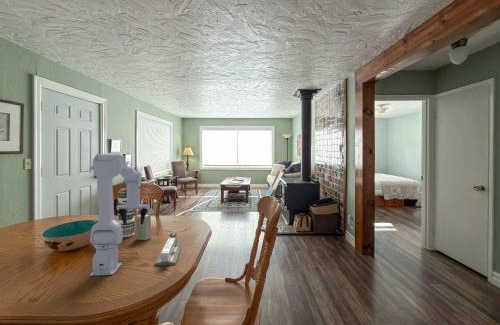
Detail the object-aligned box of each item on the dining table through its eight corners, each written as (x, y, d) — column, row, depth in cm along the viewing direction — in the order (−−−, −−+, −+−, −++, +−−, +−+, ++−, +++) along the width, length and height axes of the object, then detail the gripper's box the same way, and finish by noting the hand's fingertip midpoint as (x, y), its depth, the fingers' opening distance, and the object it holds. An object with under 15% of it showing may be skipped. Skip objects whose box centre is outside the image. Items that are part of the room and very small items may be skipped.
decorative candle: (138, 232, 148) (138, 187, 147) (129, 237, 138) (129, 190, 138) (123, 231, 149) (122, 187, 148) (113, 237, 139) (112, 189, 139)
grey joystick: (177, 248, 123) (177, 235, 123) (166, 248, 123) (166, 236, 122) (179, 244, 128) (179, 232, 128) (168, 245, 128) (168, 232, 127)
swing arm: (168, 261, 104) (168, 253, 104) (160, 262, 103) (160, 253, 103) (175, 244, 124) (175, 237, 123) (169, 244, 123) (169, 237, 123)
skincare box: (151, 238, 138) (151, 214, 138) (146, 240, 134) (146, 216, 134) (141, 236, 140) (140, 213, 140) (135, 239, 136) (135, 215, 135)
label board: (175, 264, 105) (175, 261, 105) (154, 265, 104) (154, 262, 104) (180, 248, 123) (180, 245, 123) (163, 249, 122) (163, 246, 122)
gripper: (151, 194, 132) (151, 221, 132) (120, 195, 130) (120, 222, 130) (147, 197, 125) (147, 225, 125) (115, 197, 123) (115, 226, 123)
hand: (133, 224), depth 127 cm, fingers open, 7 cm apart
